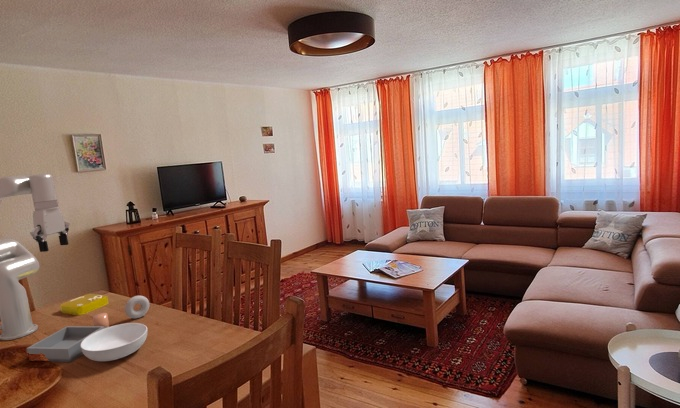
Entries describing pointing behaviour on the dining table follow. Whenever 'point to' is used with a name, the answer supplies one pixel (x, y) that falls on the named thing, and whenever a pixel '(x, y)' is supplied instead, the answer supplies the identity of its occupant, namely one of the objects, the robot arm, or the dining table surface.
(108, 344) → the serving bowl
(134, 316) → the donut
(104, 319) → the pinkish-brown rounded piece
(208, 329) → the dining table surface
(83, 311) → the element tile
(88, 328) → the bin
